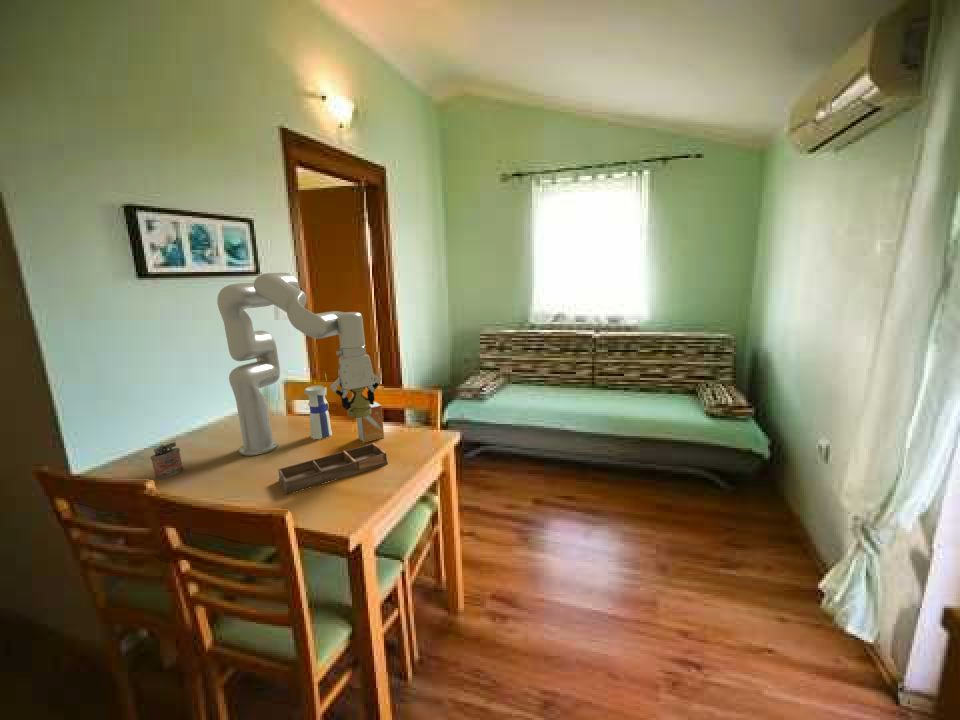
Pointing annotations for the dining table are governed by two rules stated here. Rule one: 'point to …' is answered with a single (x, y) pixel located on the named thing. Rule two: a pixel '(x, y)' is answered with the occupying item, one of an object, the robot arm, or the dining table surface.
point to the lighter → (166, 461)
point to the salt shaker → (359, 404)
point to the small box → (371, 424)
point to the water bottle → (318, 412)
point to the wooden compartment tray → (331, 467)
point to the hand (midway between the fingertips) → (358, 405)
